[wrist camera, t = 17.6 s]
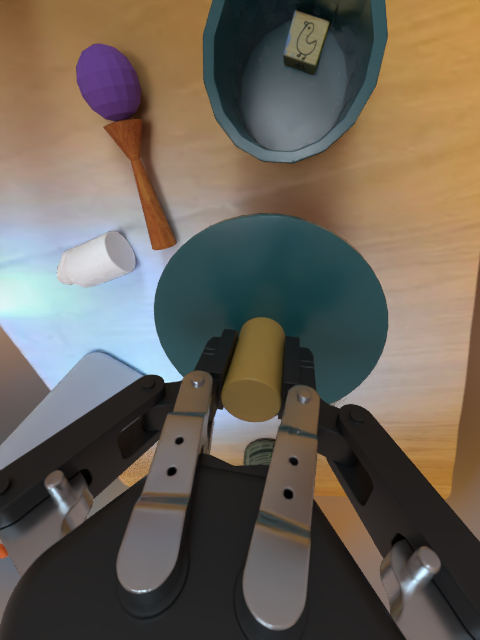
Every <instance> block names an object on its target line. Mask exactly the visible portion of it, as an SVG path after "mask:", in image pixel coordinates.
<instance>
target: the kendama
mask: <svg viewBox="0 0 480 640" xmlns="http://www.w3.org/2000/svg"><path fill="white" fill-rule="evenodd" d="M76 73H77V83H78V86H79V89H80V91H81V94H82V96H83V98H84V99H85V101H86V102H87V103H88V105H89V106H90V107H91V108H92V110H94V111H95V112H96V113H98V114H99V115H101V116H102V117H103V118H105V119H108V120H112V121H116V122H114V123H111V124H109V125H106V126H104V129H105V130H106V131H107V132H108V134H109V135H110V136H111V137H112V138H113V140H114V141H115V142H116V143H117V145H118V146H119V147H120V148H121V150H122V151H123V152H124V153H125V154H126V156H127V157H128V158H129V159H130V161H131V164H132V168H133V172H134V176H135V180H136V184H137V188H138V192H139V196H140V200H141V204H142V208H143V212H144V216H145V220H146V224H147V228H148V233H149V237H150V241H151V245H152V249H153V250H162V249H166V248H169V247H172V246H174V245H175V244H176V240H175V238H174V236H173V233H172V231H171V229H170V226H169V224H168V222H167V220H166V217H165V215H164V213H163V210H162V208H161V206H160V203H159V201H158V199H157V197H156V194H155V192H154V190H153V187H152V185H151V183H150V181H149V178H148V176H147V174H146V171H145V169H144V167H143V164H142V162H141V160H140V152H141V135H142V119H129V118H130V117H131V116H133V115H134V114H135V113H136V112H137V109H138V107H139V105H140V102H141V87H140V84H139V80H138V77H137V73H136V71H135V69H134V68H133V66H132V65H131V63H130V62H129V60H128V58H127V57H126V56H124V55H123V54H122V53H121V52H119V51H118V50H117V49H116V48H114V47H112V46H108V45H104V44H93V45H91V46H90V47H88V48H87V49H85V50H84V51H82V53H81V55H80V58H79V61H78V63H77V66H76Z"/></svg>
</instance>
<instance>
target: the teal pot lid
mask: <svg viewBox="0 0 480 640" xmlns="http://www.w3.org/2000/svg"><path fill="white" fill-rule="evenodd" d="M154 319H155V325H156V330H157V334H158V337H159V340H160V343H161V345H162V347H163V349H164V351H165V353H166V355H167V357H168V358H169V360H170V361H171V363H172V364H173V366H174V367H175V368H176V369H177V370H178V372H179V373H180V374H181V375H182V376H183V377H184V376H185V375H187V374H188V373H190V372H192V371H194V369H195V367H196V365H197V363H198V360H199V358H200V356H201V354H202V352H203V350H204V349H205V346H206V344H207V342H208V341H209V340H210V339H211V338H212V337H214V336H215V337H221V335H222V333H223V330H224V329H232V330H238V341H237V344H236V347H235V350H234V353H233V356H232V360H231V363H230V366H229V369H228V372H227V375H226V379H225V382H224V385H223V388H222V391H221V401H222V404H223V406H224V407H225V409H226V410H227V411H228V412H229V413H230V414H232V415H233V416H235V417H237V418H239V419H241V420H244V421H248V422H263V421H267V420H269V419H271V418H273V417H275V416H276V415H278V412H279V411H280V408H281V404H282V397H281V393H282V377H283V361H284V345H285V337H286V336H291V337H299V338H300V347H304V348H309V349H310V351H311V352H312V354H313V357H314V369H315V380H316V390H317V392H318V394H319V396H320V398H321V399H322V400H323V401H325V402H326V403H328V404H332V403H334V402H336V401H338V400H340V399H341V398H343V397H344V396H346V395H348V394H349V393H350V392H352V391H353V390H354V389H355V388H357V387H358V386H359V385H360V384H361V383H362V382H363V381H364V380H365V379H366V378H367V377H368V375H369V374H370V373H371V371H372V370H373V369H374V367H375V366H376V364H377V362H378V360H379V358H380V356H381V354H382V351H383V348H384V345H385V342H386V338H387V331H388V309H387V304H386V299H385V295H384V293H383V290H382V287H381V285H380V282H379V280H378V279H377V277H376V275H375V273H374V272H373V270H372V268H371V267H370V265H369V264H368V263H367V261H366V260H365V259H364V258H363V257H362V255H361V254H360V253H359V252H358V251H357V250H356V249H355V248H354V247H353V246H352V245H351V244H350V243H348V242H347V241H346V240H345V239H343V238H342V237H340V236H339V235H337V234H336V233H334V232H333V231H331V230H329V229H327V228H325V227H323V226H321V225H319V224H317V223H315V222H312V221H308V220H305V219H302V218H299V217H295V216H289V215H283V214H268V213H258V214H249V215H241V216H237V217H234V218H230V219H226V220H223V221H221V222H218V223H216V224H214V225H211V226H209V227H208V228H206V229H204V230H203V231H201V232H199V233H198V234H196V235H195V236H193V237H192V238H191V239H190V240H189V241H187V242H186V243H185V244H184V245H183V246H181V247H180V249H179V250H178V251H177V252H176V253H175V254H174V255H173V257H172V258H171V259H170V261H169V262H168V264H167V265H166V267H165V269H164V270H163V273H162V275H161V277H160V280H159V282H158V286H157V290H156V294H155V302H154Z"/></svg>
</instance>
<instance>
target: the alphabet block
mask: <svg viewBox="0 0 480 640" xmlns="http://www.w3.org/2000/svg"><path fill="white" fill-rule="evenodd" d="M329 23H330V22H329V21H327V20H324V19H321V18H318V17H315V16H312V15H309V14H306V13H303V12H300V11H297V10H295V11H294V15H293V19H292V23H291V27H290V31H289V34H288V38H287V42H286V46H285V49H284V53H283V58H284V65H287V66H290V67H293V68H296V69H299V70H302V71H304V72H307V73H310V74H314V72H315V69H316V66H317V63H318V60H319V57H320V54H321V51H322V48H323V45H324V42H325V38H326V35H327V31H328V27H329Z"/></svg>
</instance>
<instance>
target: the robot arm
mask: <svg viewBox="0 0 480 640" xmlns="http://www.w3.org/2000/svg"><path fill="white" fill-rule="evenodd" d="M237 341H238V330H232V329H224V330H223V333H222V335H221V337H215V336H214V337H212V338H211V339H210V340H209V341H208V342H207V344H206V346H205V349H204V350H203V352H202V354H201V356H200V358H199V360H198V363H197V365H196V367H195V369H194V371H192V372H190V373H188V374H187V375H185V376H184V378H183V380H182V381H178V382H171V383H164V380H163V378H161V377H160V376H158V375H146V376H143V377H141V378H139V379H137V380H136V381H134V382H133V383H131V384H130V385H128V386H127V387H125V388H124V389H122V390H121V391H119V392H118V393H116V394H115V395H113V396H112V397H110V398H109V399H107V400H106V401H104V402H103V403H101V404H100V405H98V406H97V407H95V408H93V409H92V410H90V411H89V412H87V413H86V414H84V415H83V416H81V417H80V418H78V419H77V420H75V421H74V422H72V423H71V424H69V425H68V426H66V427H65V428H63V429H62V430H60V431H59V432H57V433H56V434H54V435H53V436H51V437H50V438H48V439H47V440H45V441H44V442H42V443H41V444H39V445H38V446H36V447H35V448H33V449H32V450H30V451H28V452H27V453H25V454H24V455H22V456H21V457H19V458H18V459H16V460H15V461H13V462H12V463H10V464H9V465H7V466H6V467H4V468H3V469H1V470H0V543H1V544H3V545H4V547H5V549H6V550H7V552H8V554H9V556H10V558H11V559H12V562H13V563H14V565H15V567H16V569H17V571H18V573H19V575H20V576H21V579H20V580H19V582H18V584H17V585H16V587H15V588H14V590H13V592H12V594H11V596H10V598H9V600H8V603H7V606H6V608H5V611H4V613H3V617H2V621H1V624H0V640H480V542H479V540H478V539H477V538H476V537H475V536H474V535H473V534H472V532H471V531H470V530H469V529H468V528H467V526H466V525H465V524H464V523H463V522H462V520H461V519H460V518H459V517H458V516H457V515H456V513H455V512H454V511H453V510H452V509H451V508H450V506H449V505H448V504H447V503H446V502H445V500H444V499H443V498H442V497H441V496H440V494H439V493H438V492H437V491H436V490H435V489H434V487H433V486H432V485H431V484H430V483H429V482H428V480H427V479H426V478H425V477H424V476H423V474H422V473H421V472H420V471H419V470H418V469H417V467H416V466H415V465H414V464H413V463H412V461H411V460H410V459H409V458H408V457H407V456H406V454H405V453H404V452H403V451H402V450H401V448H400V447H399V446H398V445H397V444H396V443H395V441H394V440H393V439H392V438H391V437H390V436H389V434H388V433H387V432H386V431H385V430H384V428H383V427H382V426H381V425H380V424H379V423H378V421H377V420H376V419H375V418H374V417H373V415H372V414H371V413H370V412H369V411H367V410H366V409H365V408H363V407H361V406H358V405H354V404H348V405H344V406H342V407H341V408H340V409H339V408H337V407H334V406H332V405H330V404H328V403H326V402H325V401H323V400H322V399H321V398H320V396H319V394H318V392H317V390H316V380H315V369H314V357H313V354H312V352H311V351H310V349H309V348H304V347H300V338H299V337H291V336H286V337H285V345H284V361H283V377H282V393H281V397H282V404H281V408H280V411H279V412H278V419H281V424H280V426H279V429H278V433H277V437H276V441H275V445H274V450H273V454H272V458H271V462H270V466H269V465H263V464H258V465H244V466H233V465H231V464H229V463H226V462H224V461H222V460H220V459H218V458H216V457H214V456H212V455H210V448H211V441H212V434H213V426H214V416H215V414H216V410H217V409H221V410H223V407H224V406H223V404H222V401H221V391H222V388H223V385H224V382H225V379H226V375H227V372H228V369H229V366H230V363H231V360H232V356H233V353H234V350H235V347H236V344H237ZM136 419H137V420H136ZM135 420H136V421H135ZM132 422H133V423H132ZM131 423H132V424H131ZM127 426H128V427H127ZM126 427H127V428H126ZM123 429H124V430H123ZM122 430H123V431H122ZM158 440H159V441H158ZM157 441H158V444H157V447H156V451H155V454H154V457H153V460H152V463H151V466H150V469H149V472H148V474H147V475H146V476H145V477H143V478H142V479H141V480H139V481H138V482H137V483H135V484H134V485H133V486H131V487H130V488H129V489H127V490H126V491H125V492H123V493H122V494H121V495H119V496H118V497H117V498H115V499H114V500H113V501H111V502H110V503H109V504H107V505H106V506H105V507H103V508H102V509H101V510H99V511H98V512H96V513H95V514H94V515H92V516H91V517H90V518H88V519H87V520H86V517H87V515H88V514H89V512H90V510H91V508H92V504H93V499H94V498H95V497H96V496H97V495H98V494H100V493H101V492H102V491H103V490H104V489H105V488H106V487H107V486H108V485H110V484H111V483H112V482H113V481H114V480H115V479H116V478H117V477H118V476H120V475H121V474H122V473H123V472H124V471H125V470H126V469H127V468H128V467H129V466H131V465H132V464H133V463H134V462H135V461H136V460H137V459H138V458H139V457H141V456H142V455H143V454H144V453H145V452H146V451H147V450H148V449H149V448H151V447H152V446H153V445H154V444H155V443H156V442H157ZM317 453H319V454H321V455H323V456H325V457H326V459H327V461H328V463H329V465H330V467H331V468H332V470H333V472H334V474H335V475H336V477H337V479H338V481H339V482H340V484H341V486H342V488H343V489H344V491H345V493H346V495H347V496H348V498H349V500H350V501H351V503H352V505H353V507H354V508H355V510H356V512H357V514H358V515H359V517H360V519H361V520H362V522H363V524H364V526H365V527H366V529H367V531H368V533H369V534H370V536H371V538H372V540H373V541H374V543H375V545H376V547H377V548H378V550H379V552H380V554H381V555H382V557H383V561H382V562H381V566H380V577H381V581H382V584H383V587H384V589H385V592H386V594H387V597H388V600H389V605H390V613H389V612H388V610H387V609H386V607H385V606H384V605H383V603H382V602H381V600H380V598H379V597H378V595H377V594H376V592H375V591H374V589H373V588H372V586H371V585H370V583H369V582H368V580H367V579H366V577H365V576H364V574H363V572H362V571H361V569H360V568H359V567H358V565H357V564H356V562H355V561H354V559H353V557H352V556H351V554H350V553H349V551H348V550H347V548H346V547H345V545H344V544H343V542H342V541H341V539H340V538H339V536H338V535H337V533H336V532H335V530H334V529H333V527H332V526H331V524H330V522H329V521H328V519H327V518H326V516H325V515H324V513H323V512H322V510H321V509H320V507H319V506H318V504H317V503H316V502H315V500H314V499H313V496H314V484H315V473H316V462H317ZM85 520H86V521H85Z"/></svg>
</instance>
